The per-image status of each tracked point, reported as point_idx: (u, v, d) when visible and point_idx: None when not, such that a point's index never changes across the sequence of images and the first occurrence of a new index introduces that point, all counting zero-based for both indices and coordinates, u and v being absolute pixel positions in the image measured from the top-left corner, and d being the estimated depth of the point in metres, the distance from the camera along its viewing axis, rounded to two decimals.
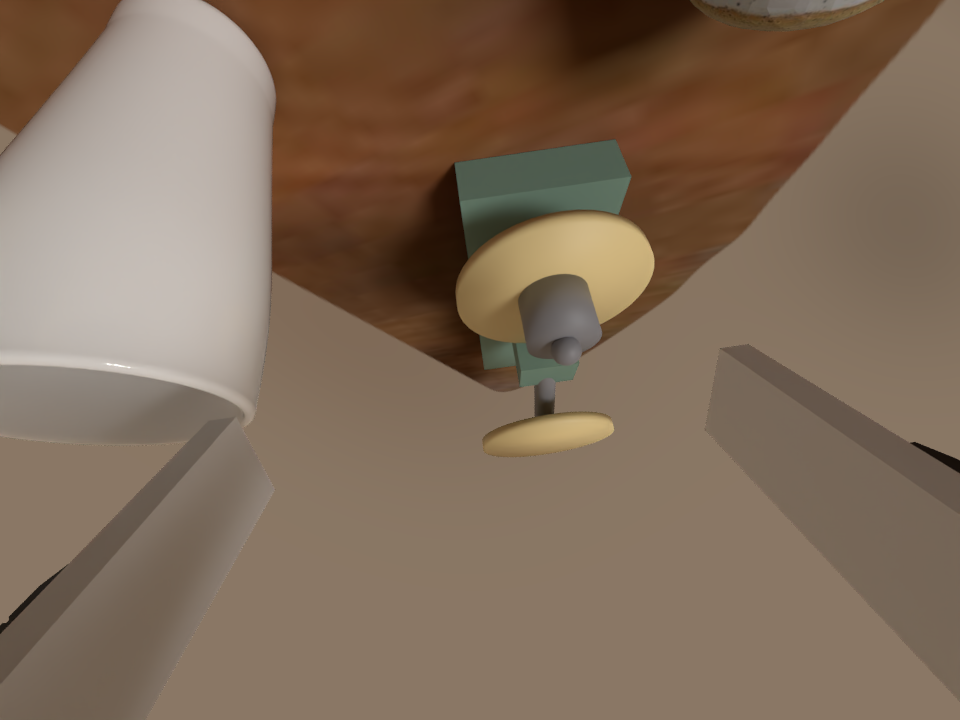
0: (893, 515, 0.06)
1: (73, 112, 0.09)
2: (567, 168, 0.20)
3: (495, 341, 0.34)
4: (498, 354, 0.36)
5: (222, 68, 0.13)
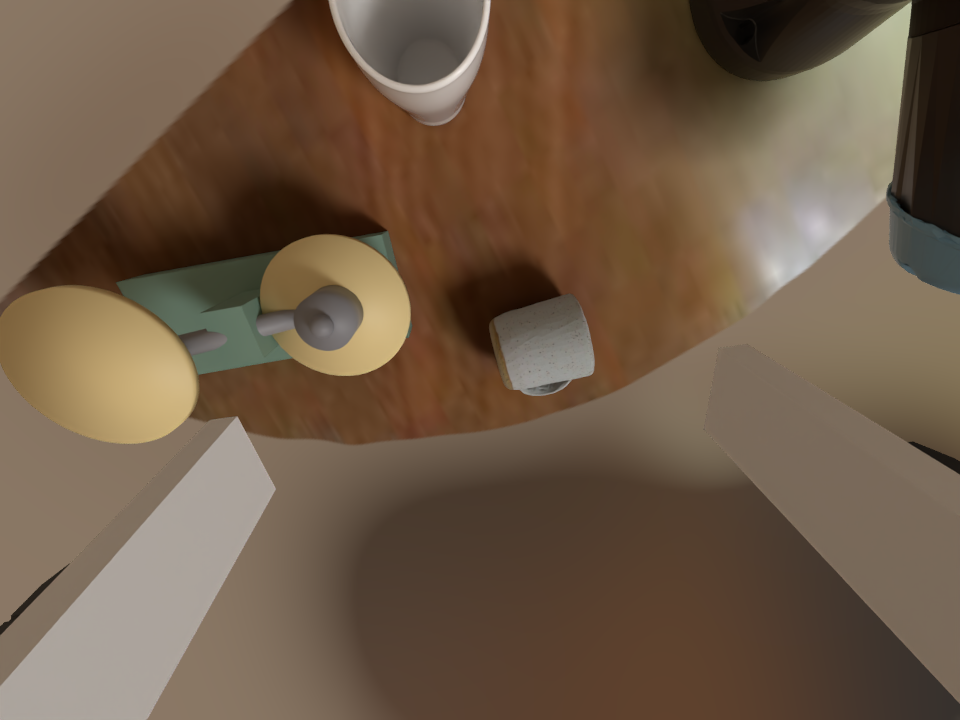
0: (890, 515, 0.06)
1: None
2: None
3: (195, 286, 0.31)
4: (165, 294, 0.31)
5: (456, 109, 0.26)
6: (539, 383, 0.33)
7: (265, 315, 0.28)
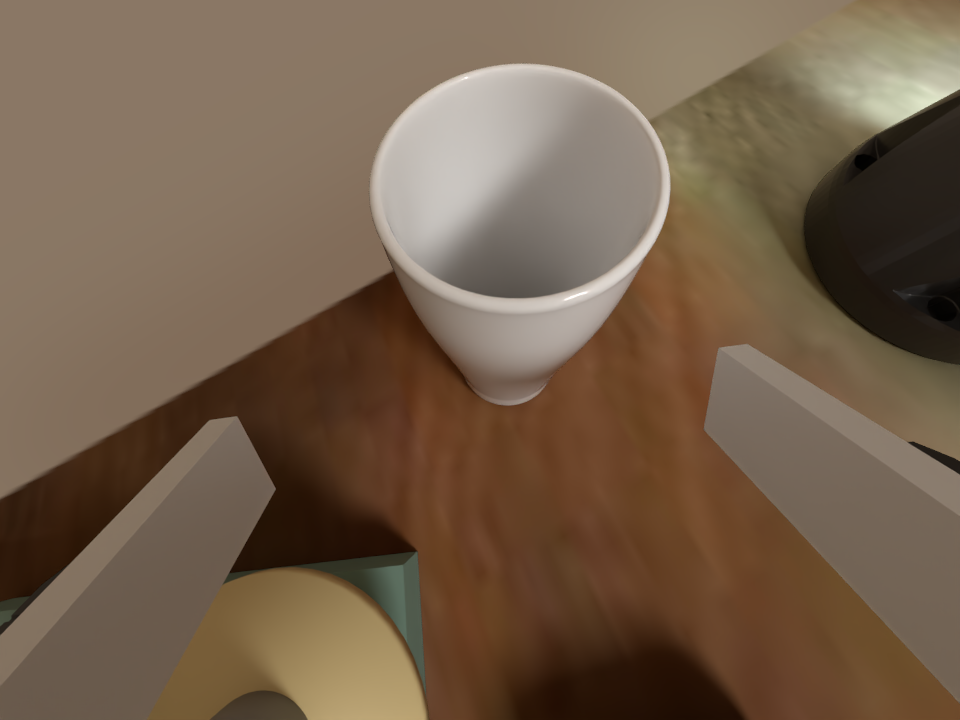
0: (891, 515, 0.06)
1: None
2: None
3: None
4: None
5: (543, 384, 0.18)
6: None
7: None
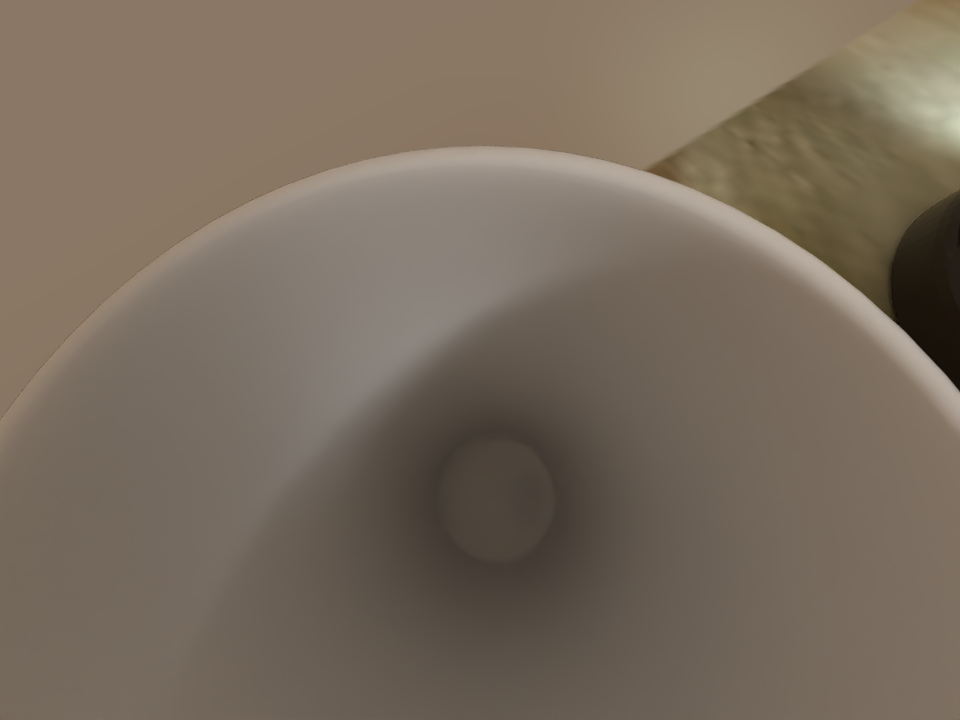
0: None
1: None
2: None
3: None
4: None
5: None
6: None
7: None
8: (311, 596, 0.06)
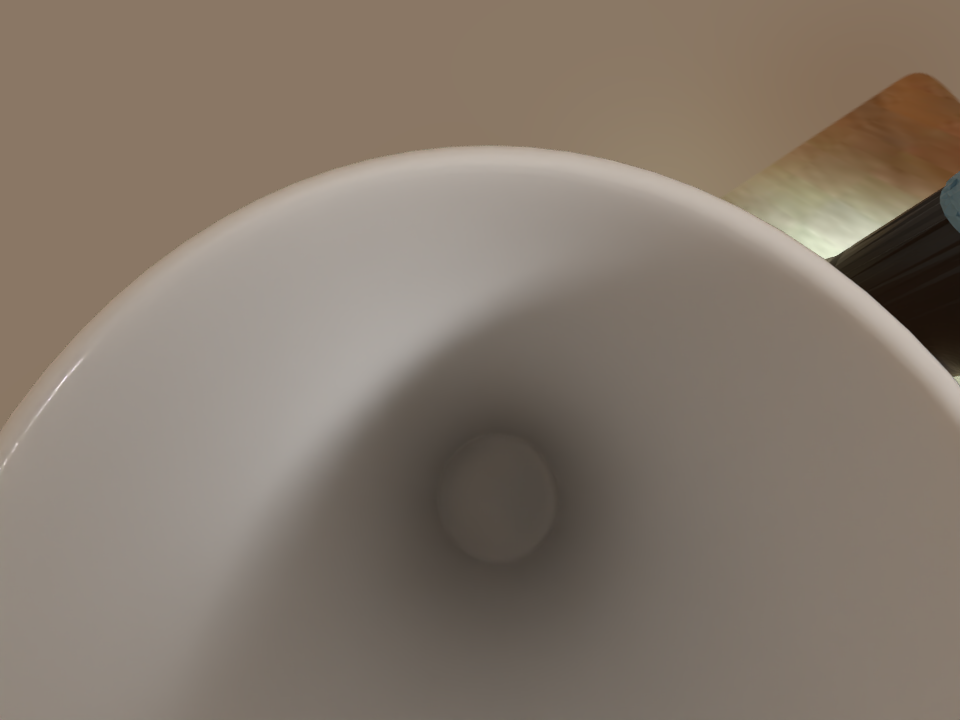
0: None
1: None
2: None
3: None
4: None
5: None
6: None
7: None
8: (314, 594, 0.06)
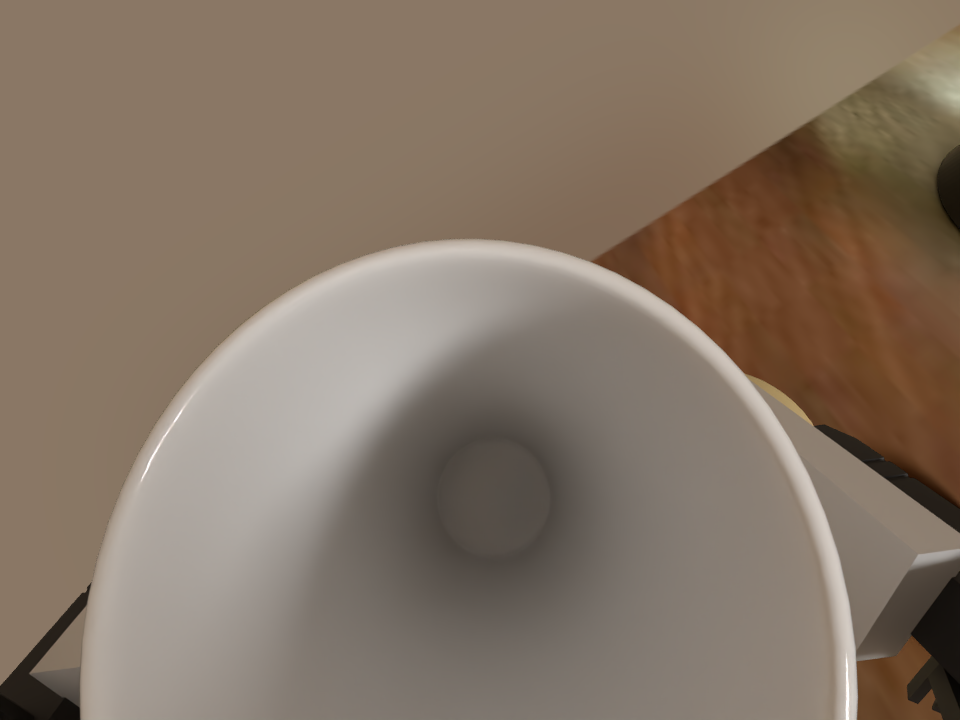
0: None
1: None
2: None
3: None
4: None
5: None
6: None
7: None
8: (334, 572, 0.07)
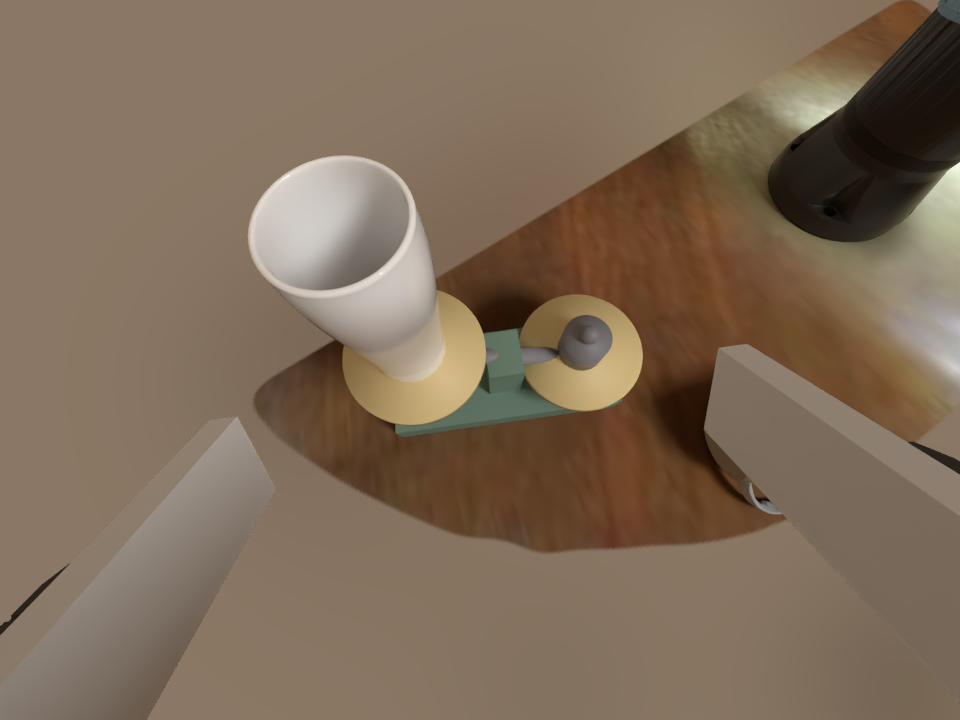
0: (890, 514, 0.06)
1: (437, 301, 0.21)
2: None
3: None
4: None
5: (425, 362, 0.25)
6: None
7: (524, 347, 0.33)
8: None
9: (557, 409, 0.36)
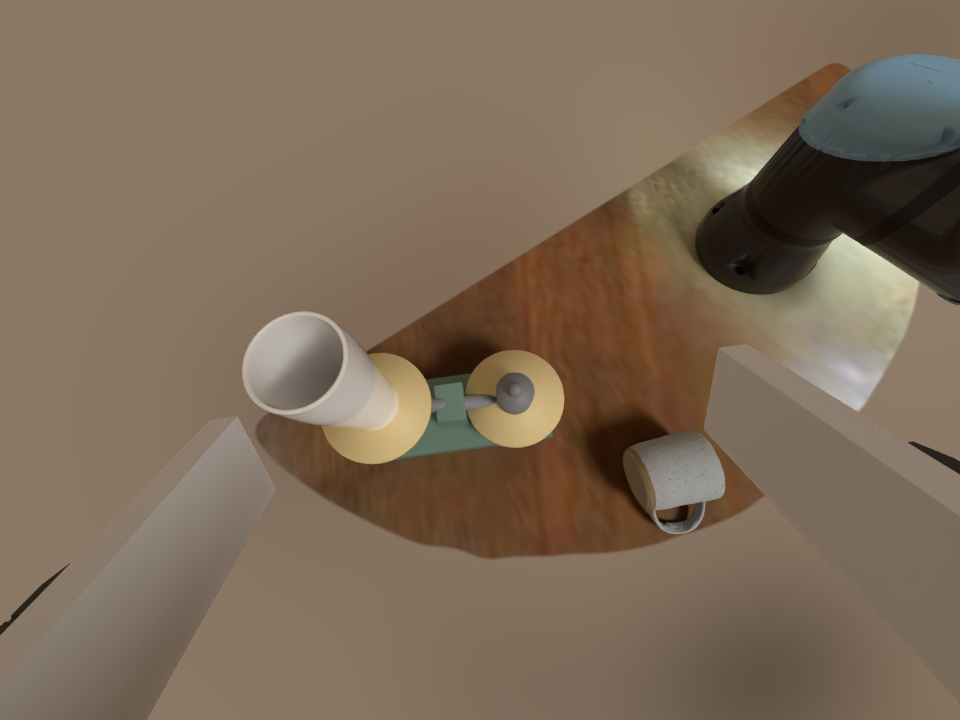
0: (891, 515, 0.06)
1: (380, 385, 0.29)
2: None
3: None
4: None
5: (378, 421, 0.33)
6: (679, 496, 0.38)
7: (469, 395, 0.42)
8: (286, 393, 0.27)
9: None
